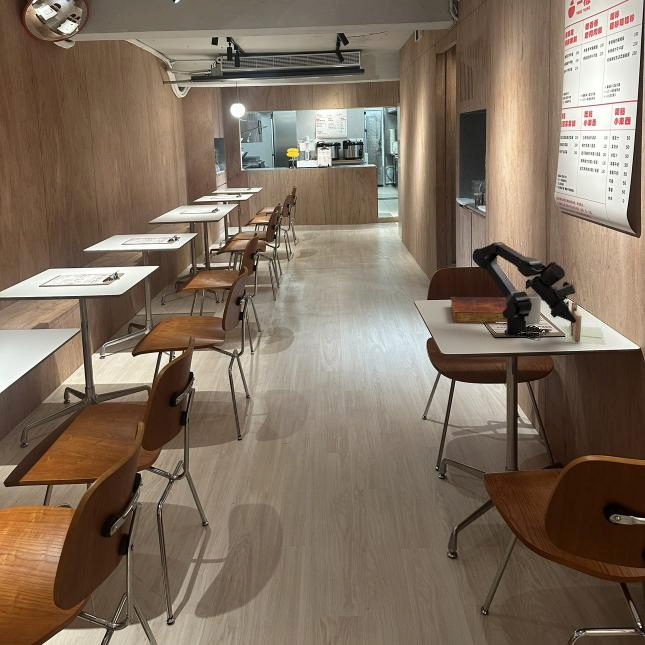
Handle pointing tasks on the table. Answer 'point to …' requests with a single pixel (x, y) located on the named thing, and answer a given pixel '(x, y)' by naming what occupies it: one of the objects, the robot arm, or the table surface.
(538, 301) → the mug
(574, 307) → the fence frame
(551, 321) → the table surface
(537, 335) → the table surface
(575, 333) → the block
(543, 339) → the table surface
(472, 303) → the book
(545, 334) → the table surface
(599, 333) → the card
